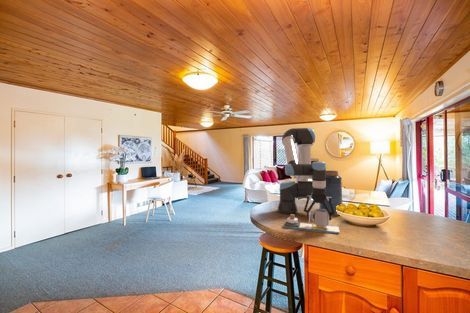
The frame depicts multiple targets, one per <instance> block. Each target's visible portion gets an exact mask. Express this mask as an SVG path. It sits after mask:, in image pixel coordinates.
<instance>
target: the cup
mask: <svg viewBox="0 0 470 313" xmlns="http://www.w3.org/2000/svg"><path fill="white" fill-rule="evenodd" d="M310 221H312V222H313V223H314V224H315V225H316V226H318V227H327V226H328V211H327V210H325V209H319V208H316V209H314V210H313V211H311V212H310Z"/></svg>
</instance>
